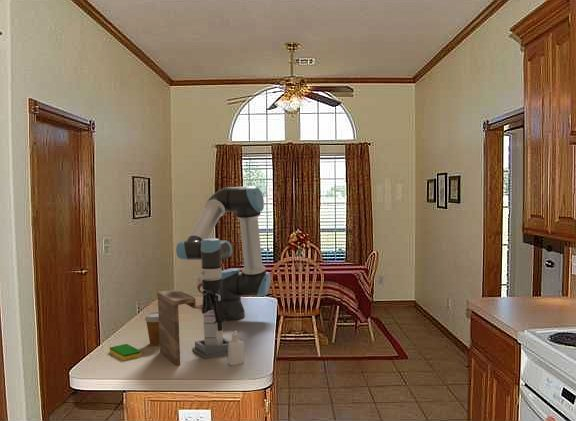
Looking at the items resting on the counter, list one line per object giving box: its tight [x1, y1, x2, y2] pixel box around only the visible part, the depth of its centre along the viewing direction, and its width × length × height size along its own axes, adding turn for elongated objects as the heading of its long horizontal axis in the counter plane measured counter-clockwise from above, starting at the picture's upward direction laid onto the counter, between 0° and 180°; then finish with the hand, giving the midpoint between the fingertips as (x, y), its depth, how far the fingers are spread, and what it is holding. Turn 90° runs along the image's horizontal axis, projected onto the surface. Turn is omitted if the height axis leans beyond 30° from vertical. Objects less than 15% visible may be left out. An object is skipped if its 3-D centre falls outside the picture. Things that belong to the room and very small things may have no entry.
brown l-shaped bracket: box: [156, 289, 197, 366], centre depth 201 cm, size 8×20×24 cm, turn 31°
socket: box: [191, 337, 231, 359], centre depth 207 cm, size 13×13×4 cm
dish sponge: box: [109, 343, 142, 361], centre depth 206 cm, size 7×14×2 cm, turn 40°
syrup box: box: [203, 309, 224, 347], centre depth 207 cm, size 6×6×14 cm
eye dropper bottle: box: [227, 330, 245, 366], centre depth 192 cm, size 4×6×12 cm
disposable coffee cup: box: [144, 311, 160, 346], centre depth 219 cm, size 10×10×12 cm
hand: (213, 335), depth 206 cm, fingers open, 10 cm apart
